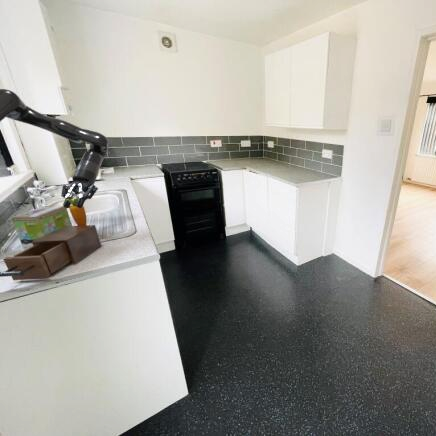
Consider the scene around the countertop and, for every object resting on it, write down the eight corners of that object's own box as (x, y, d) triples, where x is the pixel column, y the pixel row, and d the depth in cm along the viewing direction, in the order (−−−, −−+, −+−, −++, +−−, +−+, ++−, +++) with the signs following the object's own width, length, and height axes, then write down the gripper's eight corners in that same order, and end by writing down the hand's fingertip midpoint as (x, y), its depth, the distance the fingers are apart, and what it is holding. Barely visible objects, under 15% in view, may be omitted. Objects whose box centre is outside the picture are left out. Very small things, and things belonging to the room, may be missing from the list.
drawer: (33, 287, 74) (23, 265, 71) (-4, 289, 73) (-15, 267, 70) (78, 258, 91) (72, 239, 88) (49, 259, 90) (41, 240, 88)
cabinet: (75, 264, 89) (66, 240, 85) (41, 265, 88) (31, 241, 85) (101, 246, 102) (95, 224, 99) (72, 247, 102) (64, 226, 98)
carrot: (74, 233, 103) (63, 198, 98) (78, 228, 108) (67, 196, 103) (88, 231, 105) (78, 197, 100) (92, 227, 110) (82, 194, 104)
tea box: (52, 250, 100) (38, 215, 94) (23, 252, 98) (8, 217, 93) (76, 235, 113) (66, 204, 108) (52, 236, 112) (40, 206, 107)
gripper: (108, 177, 111) (95, 211, 104) (77, 178, 112) (62, 211, 104) (96, 167, 105) (81, 202, 97) (63, 168, 105) (46, 203, 98)
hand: (72, 207), depth 101 cm, fingers closed on carrot, 4 cm apart
